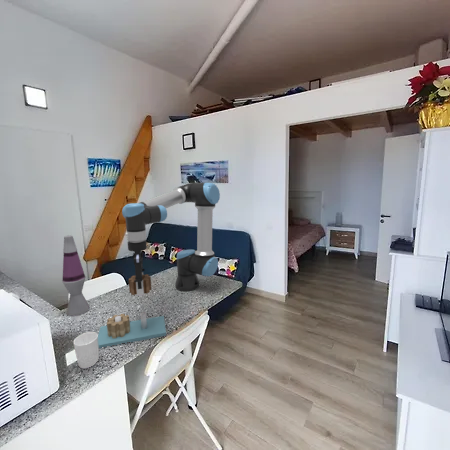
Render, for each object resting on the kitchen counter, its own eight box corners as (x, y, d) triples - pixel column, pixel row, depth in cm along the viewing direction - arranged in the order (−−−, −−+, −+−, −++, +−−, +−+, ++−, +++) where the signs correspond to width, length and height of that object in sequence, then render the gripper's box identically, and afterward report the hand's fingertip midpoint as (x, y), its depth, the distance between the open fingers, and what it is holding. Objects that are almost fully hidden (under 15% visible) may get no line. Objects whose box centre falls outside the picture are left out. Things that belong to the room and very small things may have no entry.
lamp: (61, 313, 127) (49, 237, 119) (79, 303, 137) (70, 232, 129) (76, 317, 123) (66, 239, 115) (94, 307, 133) (85, 234, 125)
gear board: (163, 318, 122) (162, 302, 120) (166, 335, 109) (165, 317, 107) (100, 329, 114) (98, 312, 112) (95, 349, 100) (93, 330, 99)
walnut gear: (130, 287, 112) (129, 275, 111) (151, 285, 115) (150, 272, 113) (129, 296, 103) (127, 283, 102) (151, 293, 106) (150, 280, 105)
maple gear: (126, 323, 115) (125, 311, 114) (133, 332, 109) (132, 319, 108) (105, 331, 110) (104, 318, 109) (111, 341, 103) (110, 328, 102)
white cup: (83, 355, 97) (79, 332, 95) (103, 354, 98) (101, 331, 96) (72, 370, 89) (69, 346, 87) (95, 369, 90) (92, 344, 88)
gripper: (129, 235, 114) (132, 281, 118) (125, 248, 93) (130, 303, 98) (146, 234, 116) (149, 279, 120) (146, 246, 96) (150, 300, 100)
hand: (140, 290), depth 109 cm, fingers closed on walnut gear, 9 cm apart
